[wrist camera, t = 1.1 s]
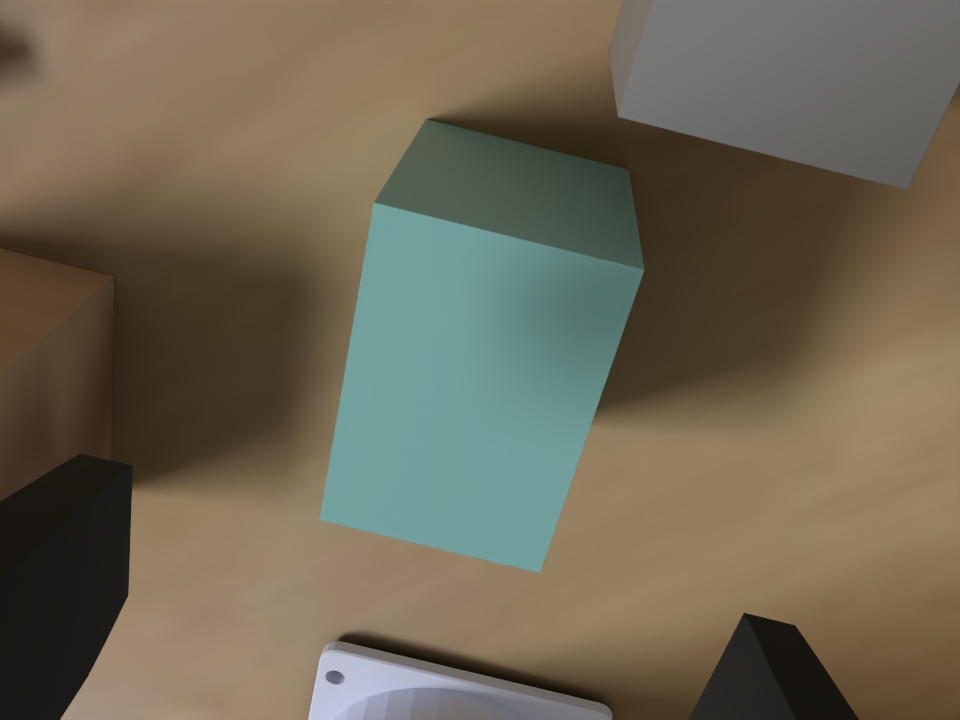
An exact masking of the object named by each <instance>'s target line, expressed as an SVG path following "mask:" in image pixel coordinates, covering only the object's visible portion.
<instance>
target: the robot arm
mask: <svg viewBox="0 0 960 720" xmlns="http://www.w3.org/2000/svg"><path fill="white" fill-rule="evenodd" d="M132 467H133V466H131V465H126V464H122V463H118V462H114V461H110V460H106V459H102V458H97V457H93V456H89V455H85V454H81V453H80V454H78V455H77V456H75V457H73V458H71V459H70V460H68V461H66V462H64V463H63V464H61V465H59V466H57V467H56V468H54V469H52V470H51V471H49V472H47V473H46V474H44V475H42V476H40V477H39V478H37V479H35V480H34V481H32V482H30V483H29V484H27V485H25V486H24V487H22V488H21V489H19V490H17V491H16V492H14V493H12V494H11V495H9V496H7V497H6V498H4V499H2V500H1V501H0V720H60V719H61V717H62V716H63V714H64V713H65V711H66V709H67V708H68V706H69V705H70V703H71V702H72V700H73V699H74V697H75V696H76V694H77V692H78V691H79V689H80V688H81V686H82V685H83V683H84V681H85V680H86V678H87V677H88V675H89V673H90V671H91V669H92V667H93V665H94V663H95V661H96V660H97V658H98V656H99V654H100V652H101V650H102V648H103V646H104V644H105V642H106V640H107V638H108V636H109V634H110V632H111V630H112V628H113V626H114V624H115V622H116V619H117V617H118V615H119V613H120V611H121V609H122V607H123V605H124V603H125V601H126V599H127V597H128V586H129V556H130V526H131V496H132ZM334 671H338V672H340V673H337V672H334ZM308 720H612V712H611V710H610V709H609V708H608V707H607V706H606V705H604V704H601V703H599V702H594V701H590V700H586V699H582V698H578V697H573V696H569V695H565V694H561V693H557V692H552V691H548V690H544V689H540V688H536V687H531V686H527V685H523V684H519V683H515V682H510V681H506V680H502V679H498V678H493V677H489V676H485V675H481V674H477V673H472V672H468V671H464V670H460V669H456V668H451V667H447V666H443V665H439V664H435V663H430V662H426V661H422V660H418V659H414V658H409V657H405V656H401V655H397V654H393V653H388V652H384V651H380V650H376V649H372V648H367V647H363V646H359V645H355V644H350V643H346V642H340V641H335V642H331V643H329V644H327V645H326V646H325V647H324V649H323V651H322V654H321V657H320V661H319V666H318V671H317V676H316V681H315V687H314V692H313V697H312V702H311V708H310V713H309V718H308ZM689 720H859V719H858V717H857V716H856V714H855V713H854V712H853V710H852V709H851V707H850V706H849V704H848V703H847V701H846V700H845V698H844V697H843V695H842V694H841V692H840V691H839V689H838V688H837V686H836V685H835V683H834V682H833V680H832V679H831V677H830V676H829V674H828V673H827V671H826V670H825V668H824V667H823V665H822V664H821V662H820V661H819V659H818V658H817V656H816V655H815V653H814V652H813V650H812V649H811V647H810V646H809V644H808V643H807V642H806V640H805V639H804V637H803V636H802V634H801V633H800V632H799V630H798V629H797V627H796V626H795V625H791V624H787V623H783V622H779V621H775V620H771V619H767V618H762V617H758V616H754V615H750V614H746V613H744V614H743V616H742V618H741V620H740V622H739V624H738V626H737V628H736V629H735V631H734V633H733V635H732V637H731V639H730V641H729V643H728V645H727V647H726V649H725V651H724V653H723V655H722V657H721V659H720V661H719V662H718V664H717V666H716V668H715V670H714V672H713V674H712V676H711V678H710V680H709V682H708V684H707V686H706V688H705V690H704V692H703V694H702V695H701V697H700V699H699V701H698V703H697V705H696V707H695V709H694V711H693V713H692V715H691V717H690V719H689Z"/></svg>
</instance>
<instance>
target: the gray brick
mask: <svg viewBox="0 0 960 720" xmlns="http://www.w3.org/2000/svg"><path fill="white" fill-rule="evenodd" d="M608 53H609V59H610V66H611V73H612V80H613V86H614V93H615V100H616V107H617V114H618V117H620V118H624V119H628V120H632V121H636V122H640V123H644V124H648V125H652V126H656V127H660V128H664V129H668V130H672V131H676V132H680V133H684V134H687V135H691V136H695V137H699V138H703V139H707V140H711V141H715V142H719V143H723V144H727V145H731V146H735V147H739V148H743V149H747V150H751V151H755V152H759V153H763V154H767V155H771V156H775V157H779V158H783V159H786V160H790V161H794V162H798V163H802V164H806V165H810V166H814V167H818V168H822V169H826V170H830V171H834V172H838V173H842V174H846V175H850V176H854V177H858V178H862V179H866V180H870V181H874V182H878V183H882V184H885V185H889V186H893V187H897V188H901V189H905V190H908V188H909V186H910V184H911V182H912V180H913V178H914V176H915V174H916V172H917V170H918V168H919V165H920V163H921V161H922V159H923V157H924V155H925V153H926V151H927V149H928V147H929V145H930V143H931V141H932V139H933V137H934V134H935V132H936V130H937V128H938V126H939V124H940V122H941V120H942V118H943V116H944V114H945V112H946V110H947V108H948V106H949V103H950V101H951V99H952V97H953V95H954V93H955V91H956V89H957V87H958V85H959V83H960V0H623V2H622V5H621V9H620V12H619V16H618V19H617V23H616V26H615V30H614V33H613V37H612V40H611V44H610V47H609V51H608Z"/></svg>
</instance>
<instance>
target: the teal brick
mask: <svg viewBox="0 0 960 720" xmlns="http://www.w3.org/2000/svg"><path fill="white" fill-rule="evenodd" d="M643 273H644V264H643V257H642V251H641V245H640V238H639V232H638V226H637V219H636V213H635V207H634V200H633V194H632V188H631V181H630V175H629V170H628V169H624V168H620V167H616V166H612V165H608V164H604V163H600V162H596V161H592V160H588V159H584V158H580V157H576V156H572V155H568V154H564V153H560V152H556V151H552V150H548V149H544V148H540V147H536V146H532V145H528V144H524V143H520V142H516V141H512V140H508V139H504V138H500V137H496V136H492V135H488V134H484V133H480V132H476V131H472V130H468V129H464V128H460V127H456V126H452V125H448V124H444V123H440V122H436V121H432V120H428V119H426V120H425V122H424V123H423V125H422V127H421V128H420V130H419V131H418V133H417V135H416V136H415V138H414V139H413V141H412V143H411V144H410V146H409V147H408V149H407V150H406V152H405V154H404V155H403V157H402V158H401V160H400V162H399V163H398V165H397V166H396V168H395V170H394V171H393V173H392V174H391V176H390V178H389V179H388V181H387V182H386V184H385V186H384V187H383V189H382V190H381V192H380V194H379V195H378V197H377V198H376V200H375V201H374V205H373V210H372V216H371V222H370V228H369V234H368V240H367V245H366V251H365V257H364V263H363V269H362V275H361V280H360V286H359V292H358V298H357V304H356V310H355V316H354V321H353V327H352V333H351V339H350V345H349V351H348V356H347V362H346V368H345V374H344V380H343V386H342V391H341V397H340V403H339V409H338V415H337V421H336V426H335V432H334V438H333V444H332V450H331V456H330V461H329V467H328V473H327V479H326V485H325V491H324V496H323V502H322V508H321V514H320V520H321V521H326V522H330V523H334V524H338V525H342V526H346V527H350V528H355V529H359V530H363V531H367V532H371V533H375V534H379V535H384V536H388V537H392V538H396V539H400V540H404V541H408V542H413V543H417V544H421V545H425V546H429V547H433V548H437V549H442V550H446V551H450V552H454V553H458V554H462V555H466V556H471V557H475V558H479V559H483V560H487V561H491V562H495V563H500V564H504V565H508V566H512V567H516V568H520V569H524V570H529V571H533V572H537V573H540V571H541V568H542V566H543V563H544V560H545V557H546V554H547V551H548V548H549V545H550V542H551V539H552V537H553V534H554V531H555V528H556V525H557V522H558V519H559V516H560V513H561V510H562V508H563V505H564V502H565V499H566V496H567V493H568V490H569V487H570V484H571V481H572V479H573V476H574V473H575V470H576V467H577V464H578V461H579V458H580V455H581V452H582V450H583V447H584V444H585V441H586V438H587V435H588V432H589V429H590V426H591V423H592V421H593V418H594V415H595V412H596V409H597V406H598V403H599V400H600V397H601V394H602V392H603V389H604V386H605V383H606V380H607V377H608V374H609V371H610V368H611V365H612V363H613V360H614V357H615V354H616V351H617V348H618V345H619V342H620V339H621V336H622V334H623V331H624V328H625V325H626V322H627V319H628V316H629V313H630V310H631V307H632V305H633V302H634V299H635V296H636V293H637V290H638V287H639V284H640V281H641V278H642V276H643Z"/></svg>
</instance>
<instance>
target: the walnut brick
mask: <svg viewBox="0 0 960 720" xmlns="http://www.w3.org/2000/svg"><path fill="white" fill-rule="evenodd" d="M113 324H114V276H110V275H106V274H102V273H98V272H94V271H90V270H86V269H82V268H78V267H74V266H69V265H65V264H61V263H57V262H53V261H49V260H45V259H41V258H37V257H33V256H29V255H25V254H21V253H17V252H12V251H8V250H4V249H0V501H1V500H2V499H4V498H6V497H7V496H9V495H11V494H12V493H14V492H16V491H17V490H19V489H21V488H22V487H24V486H25V485H27V484H29V483H30V482H32V481H34V480H35V479H37V478H39V477H40V476H42V475H44V474H46V473H47V472H49V471H51V470H52V469H54V468H56V467H57V466H59V465H61V464H63V463H64V462H66V461H68V460H70V459H71V458H73V457H75V456H77V455H78V454H80V453H81V454H85V455H89V456H93V457H97V458H102V459H106V460H110V461H111V428H112V376H113Z"/></svg>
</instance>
